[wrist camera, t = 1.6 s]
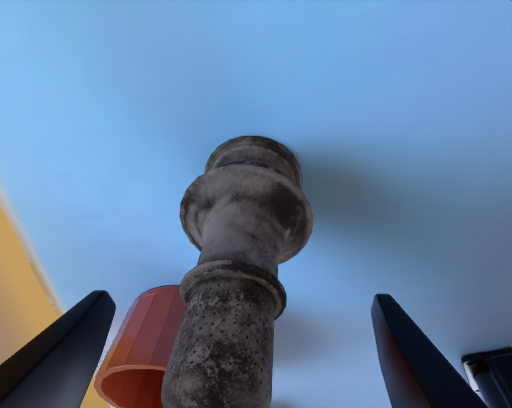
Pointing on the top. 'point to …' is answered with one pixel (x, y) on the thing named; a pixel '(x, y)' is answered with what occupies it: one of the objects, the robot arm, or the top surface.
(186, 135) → the top surface
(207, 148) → the top surface
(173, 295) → the cup
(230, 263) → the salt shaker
